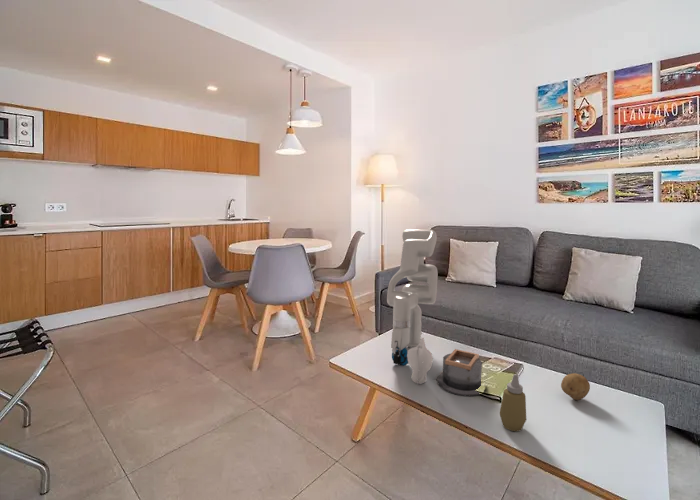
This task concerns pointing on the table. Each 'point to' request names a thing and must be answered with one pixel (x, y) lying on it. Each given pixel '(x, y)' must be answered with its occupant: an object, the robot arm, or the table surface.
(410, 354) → the shell sculpture
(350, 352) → the table surface
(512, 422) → the squeeze bottle
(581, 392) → the natural sponge
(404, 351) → the ornament
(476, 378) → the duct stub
